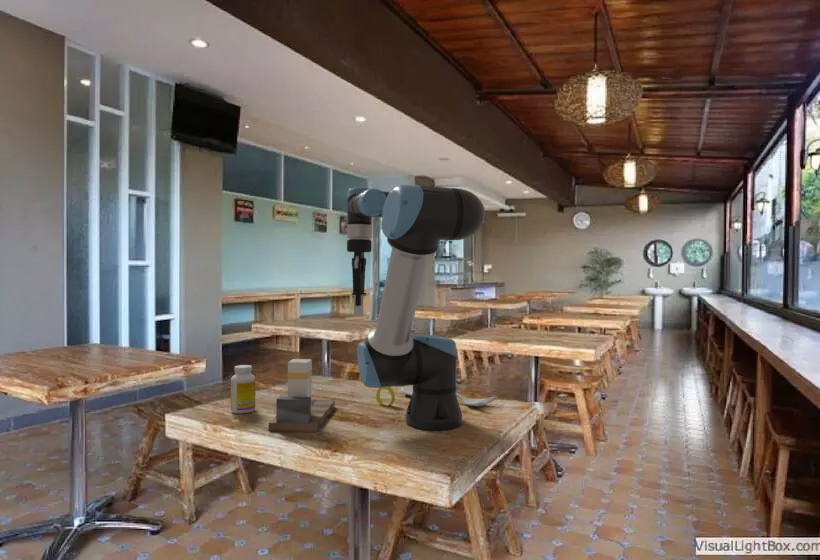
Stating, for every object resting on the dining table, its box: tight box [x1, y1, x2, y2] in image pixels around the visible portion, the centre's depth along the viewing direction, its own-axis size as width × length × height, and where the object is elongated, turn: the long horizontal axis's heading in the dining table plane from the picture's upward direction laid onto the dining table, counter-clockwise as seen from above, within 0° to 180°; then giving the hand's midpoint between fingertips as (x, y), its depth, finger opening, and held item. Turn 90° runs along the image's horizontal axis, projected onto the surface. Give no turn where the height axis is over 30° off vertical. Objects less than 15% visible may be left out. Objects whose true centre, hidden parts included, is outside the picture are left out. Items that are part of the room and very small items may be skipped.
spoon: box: [400, 385, 498, 407], centre depth 163 cm, size 9×32×4 cm, turn 54°
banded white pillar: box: [286, 358, 313, 398], centre depth 137 cm, size 5×5×14 cm
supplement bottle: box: [230, 364, 256, 415], centre depth 148 cm, size 7×7×13 cm
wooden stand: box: [267, 395, 336, 433], centre depth 142 cm, size 24×12×8 cm, turn 177°
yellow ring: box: [375, 387, 396, 407], centre depth 157 cm, size 6×3×6 cm, turn 58°
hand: (358, 316), depth 159 cm, fingers closed
